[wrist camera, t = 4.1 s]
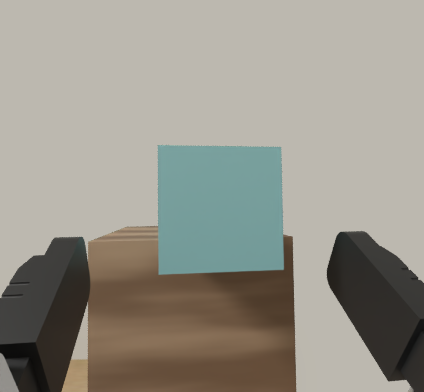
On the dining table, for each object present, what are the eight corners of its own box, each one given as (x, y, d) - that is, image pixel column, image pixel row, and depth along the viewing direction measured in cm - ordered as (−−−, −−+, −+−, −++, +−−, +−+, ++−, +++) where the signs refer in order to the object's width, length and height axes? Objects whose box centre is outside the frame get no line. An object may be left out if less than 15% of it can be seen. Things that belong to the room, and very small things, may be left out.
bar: (284, 269, 9) (281, 146, 9) (158, 274, 9) (158, 145, 9) (199, 225, 35) (198, 193, 35) (167, 226, 34) (166, 193, 34)
